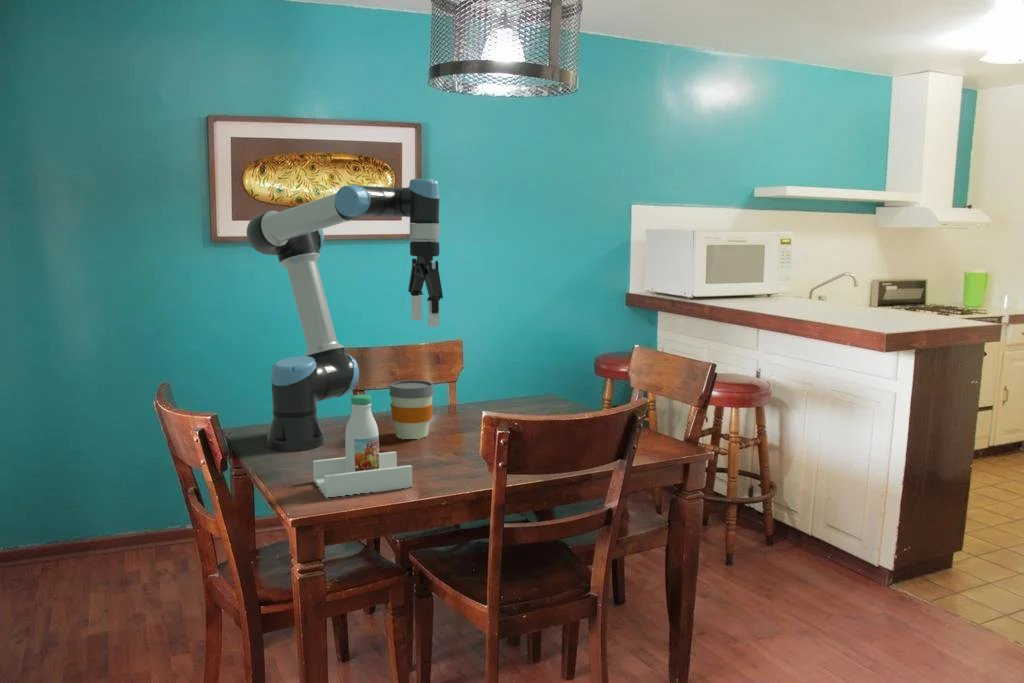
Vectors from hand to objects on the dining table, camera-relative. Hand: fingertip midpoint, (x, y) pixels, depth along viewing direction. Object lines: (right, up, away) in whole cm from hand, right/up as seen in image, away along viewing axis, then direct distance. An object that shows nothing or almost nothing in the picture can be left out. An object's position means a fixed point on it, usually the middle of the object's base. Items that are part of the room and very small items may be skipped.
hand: (425, 323), depth 213 cm
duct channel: (-12, -38, -21) cm, 45 cm away
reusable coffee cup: (-6, -32, +22) cm, 39 cm away
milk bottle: (-12, -37, -21) cm, 45 cm away
